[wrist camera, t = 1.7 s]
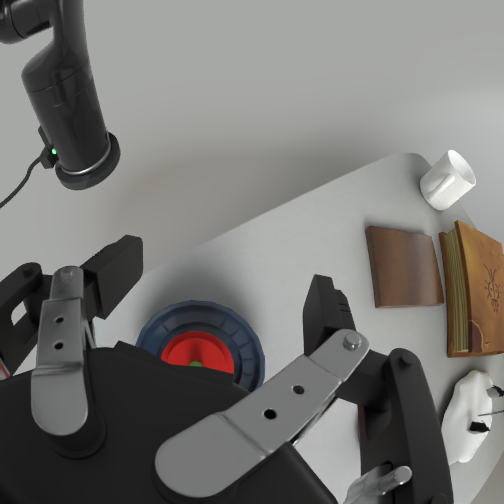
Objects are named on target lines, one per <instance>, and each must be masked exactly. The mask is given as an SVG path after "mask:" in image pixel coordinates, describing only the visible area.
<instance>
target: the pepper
mask: <svg viewBox="0 0 504 504" xmlns="http://www.w3.org/2000/svg"><path fill="white" fill-rule="evenodd" d="M161 359H162V360H163V361H165V362H167V363H169V364H173V365H184V366H200V367H207V368H211V369H215V370H220V371H224V372H229V373H233V374H234V363H233V359H232V356H231V353H230V351H229V350H228V348H227V347H226V346H225V344H224V343H223V342H222V341H221V340H219V339H218V338H217V337H215V336H213V335H211V334H208V333H205V332H200V331H191V332H186V333H182V334H180V335H178V336H176V337H175V338H173V339H172V340H171V341H170V342H169V343H168V344H167V345H166V347H165V349H164V350H163V353H162V356H161Z"/></svg>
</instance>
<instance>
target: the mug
mask: <svg viewBox="0 0 504 504" xmlns="http://www.w3.org/2000/svg"><path fill="white" fill-rule="evenodd" d="M475 184H476V179H475V176H474V173H473V171H472V169H471V168H470V166H469V165H468V163H467V162H466V161H465V159H464V158H463V157H462V156H461V155H460V154H458V153H457V152H455V151H454V150H448V151H447V152H446V153H445V154H444V156H443V157H442V158H441V159H440V160H439V161H438V162H437V163H436V164H435V165H434V166H433V167H432V168H431V169H430V170H429V171H428V172H427V173H426V174H425V175H424V176H423V177H422V179H421V180H420V190H421V192H422V195H423V197H424V198H425V200H426V201H427V202H428V203H429V204H430V205H431V206H432V207H433V208H435V209H437V210H440V211H441V210H445V209H446V208H448V207H449V206H450V205H452V204H453V203H454V202H455V201H456V200H458V199H459V198H460V197H461V196H463V195H464V194H465V193H466V192H467V191H468V190H469V189H471V188H472V187H473V186H474V185H475Z"/></svg>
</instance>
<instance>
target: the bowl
mask: <svg viewBox="0 0 504 504" xmlns="http://www.w3.org/2000/svg"><path fill="white" fill-rule="evenodd" d="M191 331H200V332H205V333H208V334H211V335H213V336H215V337H217V338H218V339H219V340H221V341H222V342H223V343H224V344H225V346H226V347H227V348H228V350H229V351H230V353H231V356H232V359H233V363H234V374H235V376H234V381H233V383H235V384H237V385H240V386H241V387H243V388H245V389H246V390H248V391H249V392H251V393H252V392H253V391H255V390H256V389H257V388H259V387H260V386H261V385H262V384H263V381H264V377H265V356H264V353H263V350H262V347H261V344H260V341H259V339H258V337H257V335H256V334H255V332H254V331H253V329H252V328H251V327H250V325H249V324H248V322H247V321H245V320H244V319H243V318H242V317H240V316H239V315H238V314H236V313H235V312H234V311H233V310H231V309H229V308H227V307H224V306H221V305H219V304H216V303H214V302H208V301H195V300H190V301H186V302H181V303H177V304H173V305H170V306H168V307H167V308H165V309H163V310H162V311H160V312H158V313H157V314H155V315H154V316H153V317H152V318H151V319H150V321H149V322H148V323H147V324H146V325H145V326H144V328H143V329H142V330H141V332H140V335H139V337H138V340H137V342H136V345H135V346H136V347H139V348H142V349H145V350H146V351H148V352H150V353H151V354H153V355H155V356H156V357H158V358H160V359H161V356H162V353H163V350H164V349H165V347H166V345H167V344H168V343H169V342H170V341H171V340H172V339H173V338H175V337H176V336H178V335H180V334H182V333H186V332H191Z"/></svg>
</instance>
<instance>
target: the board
mask: <svg viewBox="0 0 504 504" xmlns="http://www.w3.org/2000/svg"><path fill="white" fill-rule="evenodd" d="M365 233H366V238H367V244H368V250H369V257H370V263H371V270H372V278H373V286H374V295H375V305H376V308H400V307H421V306H437V305H441V304H444V296H443V290H442V284H441V278H440V273H439V268H438V263H437V258H436V254H435V249H434V245H433V241H432V237H431V236H428V235H423V234H417V233H411V232H405V231H399V230H393V229H387V228H381V227H374V226H369V227H368V228H367V229H366V230H365Z"/></svg>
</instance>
